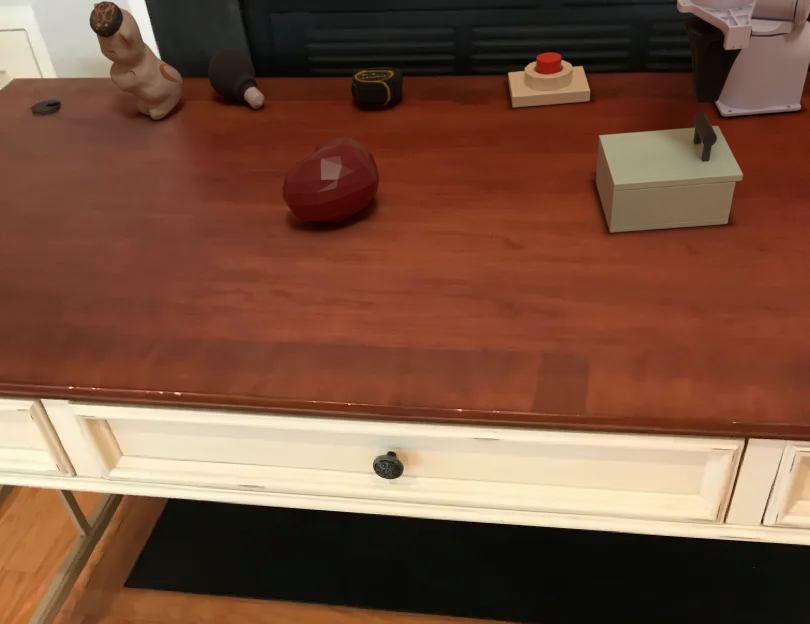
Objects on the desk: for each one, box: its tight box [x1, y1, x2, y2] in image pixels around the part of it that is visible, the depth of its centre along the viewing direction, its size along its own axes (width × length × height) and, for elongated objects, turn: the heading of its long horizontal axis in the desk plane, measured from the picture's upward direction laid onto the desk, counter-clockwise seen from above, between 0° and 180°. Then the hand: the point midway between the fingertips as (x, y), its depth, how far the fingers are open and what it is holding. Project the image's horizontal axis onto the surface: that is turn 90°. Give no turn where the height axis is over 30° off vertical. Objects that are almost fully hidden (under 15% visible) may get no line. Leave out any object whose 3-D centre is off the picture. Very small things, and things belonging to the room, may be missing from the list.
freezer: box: [595, 143, 737, 233], centre depth 96 cm, size 12×11×5 cm
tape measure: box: [350, 66, 404, 108], centre depth 120 cm, size 7×7×4 cm
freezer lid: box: [598, 111, 744, 191], centre depth 93 cm, size 13×11×4 cm
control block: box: [507, 59, 591, 109], centre depth 118 cm, size 10×8×3 cm
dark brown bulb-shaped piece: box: [207, 47, 265, 110], centre depth 124 cm, size 6×6×10 cm
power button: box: [535, 52, 562, 75], centre depth 117 cm, size 3×3×2 cm
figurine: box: [89, 0, 184, 121], centre depth 120 cm, size 9×10×15 cm
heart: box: [282, 136, 380, 224], centre depth 100 cm, size 12×8×10 cm
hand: (705, 99), depth 90 cm, fingers closed
